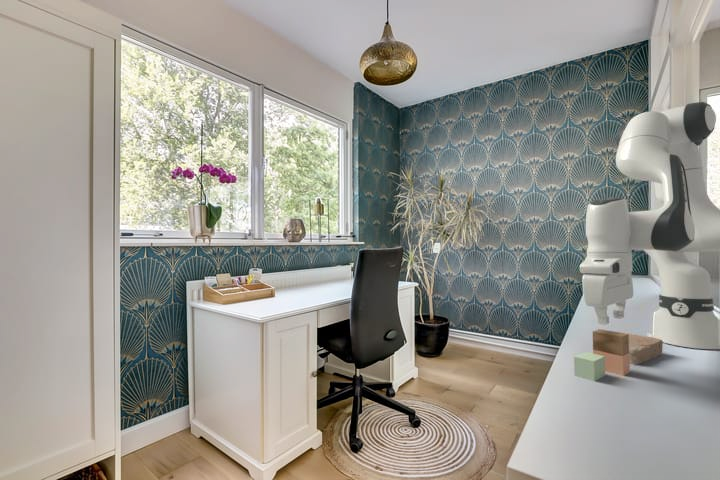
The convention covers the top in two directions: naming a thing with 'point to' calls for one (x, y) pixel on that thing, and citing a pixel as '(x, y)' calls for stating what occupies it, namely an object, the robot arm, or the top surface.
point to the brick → (643, 348)
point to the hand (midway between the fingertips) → (611, 320)
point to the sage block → (589, 366)
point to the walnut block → (611, 342)
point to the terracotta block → (615, 363)
